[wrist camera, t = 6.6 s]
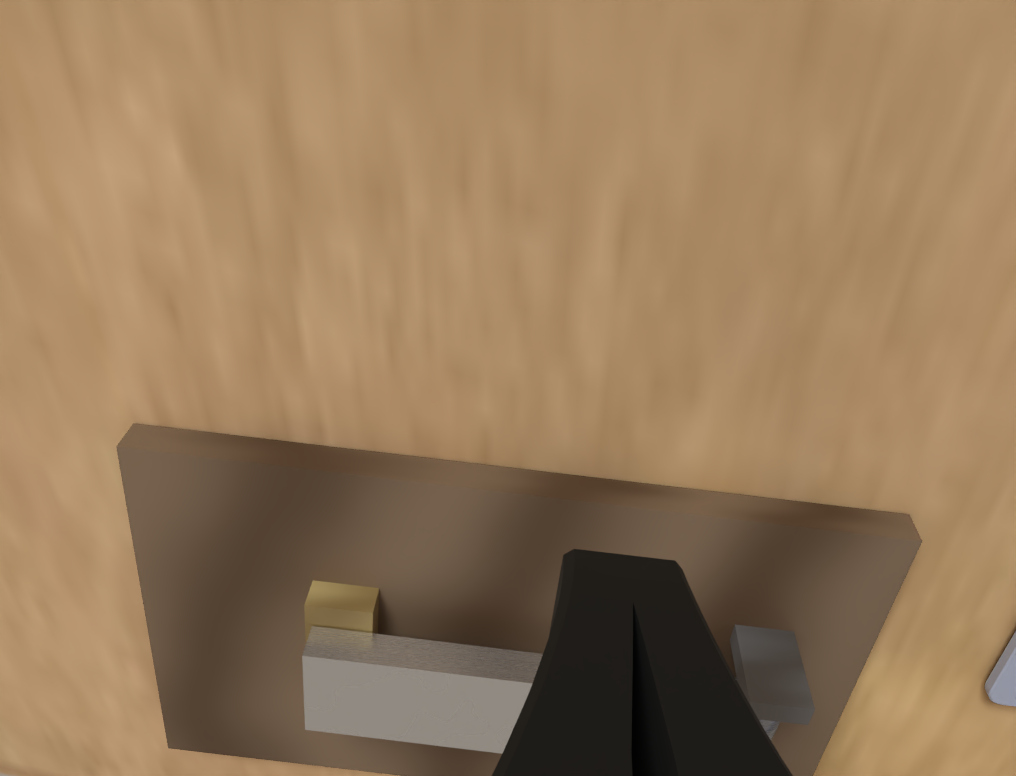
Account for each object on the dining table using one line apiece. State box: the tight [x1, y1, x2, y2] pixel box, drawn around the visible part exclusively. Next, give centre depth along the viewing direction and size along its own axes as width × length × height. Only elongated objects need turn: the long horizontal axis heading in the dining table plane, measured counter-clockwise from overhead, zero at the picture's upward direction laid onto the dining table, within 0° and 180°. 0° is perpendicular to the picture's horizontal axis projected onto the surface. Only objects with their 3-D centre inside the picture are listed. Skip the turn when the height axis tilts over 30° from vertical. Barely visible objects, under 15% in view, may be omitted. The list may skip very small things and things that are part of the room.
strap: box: [302, 626, 780, 754], centre depth 24 cm, size 12×3×1 cm, turn 84°
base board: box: [117, 424, 922, 776], centre depth 25 cm, size 20×12×4 cm, turn 84°
